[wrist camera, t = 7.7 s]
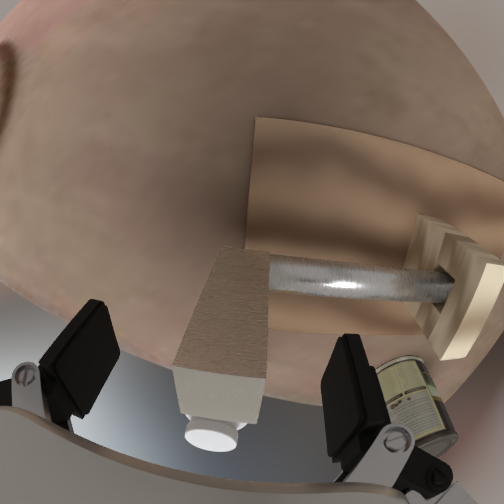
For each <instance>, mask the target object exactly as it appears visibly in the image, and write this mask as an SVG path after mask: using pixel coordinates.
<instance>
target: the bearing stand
mask: <svg viewBox="0 0 504 504" xmlns="http://www.w3.org/2000/svg"><path fill="white" fill-rule="evenodd" d="M460 231H461V232H460ZM463 233H464V234H463ZM466 235H467V236H466ZM469 237H470V238H469ZM472 239H473V240H472ZM482 246H483V247H482ZM244 248H245V249H254V250H264V251H270V254H275V255H284V256H294V257H303V258H313V259H322V260H331V261H341V262H350V263H360V264H369V265H379V266H388V267H398V268H407V269H416V270H426V271H435V272H445V273H449V274H450V275H451V276H452V277H453V278H454V279H455V282H454V284H453V287H452V289H451V292H450V294H449V296H448V299H447V301H446V303H423V302H400V301H381V300H365V299H350V298H336V297H323V296H311V295H300V294H289V293H279V292H269V309H268V329H272V330H283V331H295V332H310V333H328V334H344V333H350V334H359V335H425V336H426V338H427V339H428V341H429V343H430V344H431V346H432V348H433V349H434V351H435V353H436V354H437V356H438V358H439V360H440V361H441V360H449V359H457V358H464V357H466V355H467V353H468V352H469V350H470V349H471V347H472V345H473V343H474V342H475V340H476V338H477V337H478V335H479V333H480V331H481V329H482V327H483V326H484V324H485V322H486V320H487V318H488V316H489V314H490V312H491V310H492V308H493V305H494V303H495V301H496V299H497V297H498V294H499V292H500V290H501V287H502V285H503V283H504V262H503V261H502V260H500V259H501V256H502V253H503V250H504V181H501V180H499V179H497V178H495V177H493V176H491V175H489V174H487V173H484V172H482V171H480V170H477V169H475V168H473V167H470V166H468V165H465V164H463V163H460V162H458V161H455V160H452V159H450V158H447V157H444V156H442V155H439V154H436V153H433V152H430V151H427V150H424V149H421V148H418V147H414V146H411V145H408V144H404V143H401V142H397V141H394V140H390V139H386V138H382V137H378V136H374V135H370V134H366V133H361V132H357V131H352V130H347V129H342V128H337V127H331V126H326V125H320V124H314V123H307V122H300V121H293V120H285V119H276V118H266V117H256V120H255V131H254V142H253V153H252V164H251V176H250V187H249V199H248V211H247V223H246V235H245V247H244ZM489 251H490V252H489Z"/></svg>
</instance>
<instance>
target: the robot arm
mask: <svg viewBox="0 0 504 504" xmlns="http://www.w3.org/2000/svg"><path fill="white" fill-rule="evenodd" d="M119 356H120V349H119V346H118V343H117V340H116V336H115V333H114V329H113V326H112V322H111V319H110V315H109V311H108V308H107V306H105V304H104V302H103V301H99V300H95V299H90V300H89V301H88V302H87V303H86V304H85V305H84V306H83V308H82V309H81V310H80V311H79V312H78V313H77V315H76V316H75V317H74V318H73V319H72V320H71V322H70V323H69V324H68V325H67V326H66V328H65V329H64V330H63V331H62V332H61V334H60V335H59V336H58V337H57V339H56V340H55V341H54V342H53V344H52V345H51V347H49V349H48V350H47V351H46V353H45V354H44V355H43V357H42V358H41V359H40V361H39V364H40V365H39V366H38V367H37V366H36V365H35V364H34V363H32V362H24V363H21V364H20V365H18V366H17V367H16V368H15V369H14V371H13V373H12V378H11V379H8V380H4V381H1V382H0V504H477V502H476V501H475V500H474V499H473V498H472V497H471V496H470V495H469V494H468V493H467V492H466V490H465V489H464V488H463V487H462V486H461V485H460V484H459V483H458V482H455V483H454V482H453V481H452V480H453V473H452V469H451V468H450V466H449V465H447V464H446V463H445V462H443V461H441V460H440V459H438V458H436V457H434V456H432V455H431V454H429V453H427V452H426V451H424V450H422V449H420V448H419V447H417V446H415V445H414V444H415V437H414V434H413V432H412V431H411V430H410V428H408V427H407V426H406V425H403V424H400V423H392V424H391V420H390V417H389V413H388V409H387V406H386V402H385V399H384V396H383V392H382V389H381V386H380V382H379V379H378V376H377V373H376V370H375V368H374V367H373V366H369V363H368V359H367V356H366V353H365V350H364V347H363V344H362V341H361V338H360V335H359V334H350V333H344V334H343V336H342V337H339V338H338V339H337V342H336V345H335V347H334V350H333V353H332V355H331V358H330V360H329V363H328V365H327V368H326V370H325V372H324V375H323V377H322V380H321V394H322V402H323V410H324V420H325V430H326V441H327V452H328V456H329V457H332V461H333V463H337V462H341V468H342V469H343V471H342V472H341V473H340V474H339V475H338V477H337V478H336V479H335V480H334V481H333V482H332V483H331V482H330V483H269V482H252V481H242V480H233V479H225V478H218V477H211V476H206V475H200V474H195V473H190V472H185V471H181V470H176V469H172V468H168V467H164V466H160V465H157V464H153V463H150V462H146V461H143V460H140V459H137V458H134V457H131V456H128V455H125V454H122V453H119V452H117V451H114V450H111V449H109V448H106V447H103V446H101V445H99V444H96V443H94V442H92V441H89V440H87V439H85V438H83V437H81V436H78V435H76V434H74V431H73V427H72V424H71V419H70V417H71V415H72V414H73V415H75V416H77V417H79V418H81V419H83V418H84V416H85V414H88V413H89V412H90V410H91V408H92V406H93V404H94V402H95V401H96V399H97V397H98V395H99V393H100V391H101V389H102V387H103V386H104V384H105V382H106V380H107V378H108V376H109V375H110V373H111V371H112V369H113V367H114V366H115V364H116V362H117V360H118V359H119Z"/></svg>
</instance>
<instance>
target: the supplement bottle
mask: <svg viewBox="0 0 504 504" xmlns="http://www.w3.org/2000/svg"><path fill="white" fill-rule="evenodd" d="M186 416H187V417H188V419H189V420H190V422H189V423H188V424H187V427H186V431H185V438H186V440H187V441H188V442H189V443H191V444H192V445H194V446H196V447H199V448H201V449H204V450H209V451H216V452H225V451H230V450H232V449H234V448H235V447H236V445H237V440H238V433H237V430H239V429H241V428H243V427H244V426H245V425H246V424H247V423H240V422H232V421H224V420H217V419H211V418H204V417H199V416H193V415H188V414H186Z"/></svg>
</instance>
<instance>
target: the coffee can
mask: <svg viewBox="0 0 504 504" xmlns="http://www.w3.org/2000/svg"><path fill="white" fill-rule="evenodd" d="M376 373H377V376H378V379H379V382H380V386H381V389H382V392H383V396H384V399H385V402H386V406H387V409H388V413H389V417H390V420H391V424H392V423H400V424H403V425H406V426H407V427H408V428H410V430H411V431H412V432H413V434H414V437H415V444H414V445H415V446H417V447H419V448H420V449H422V450H424V451H426V452H427V453H429V454H431V455H432V456H434V457H436V458H438V457H440V456H441V455H443V454H444V453H446V452H447V451H448V450H449V449H450V448H451V447H452V446H453V445H454V444H455V443H456V442H457V440H458V435H457V432H456V431H455V429H454V427H453V424H452V422H451V420H450V418H449V415H448V413H447V411H446V409H445V406H444V404H443V402H442V400H441V397H440V395H439V393H438V391H437V389H436V387H435V385H434V383H433V381H432V379H431V377H430V375H429V372H428V371H427V369H426V367H425V364H424V362H423V360H422V359H420V358H419V357H416V356H404V357H399V358H396V359H394V360H391V361H389V362H387V363H385V364H384V365H382V366H380V367H379V368H377V369H376Z"/></svg>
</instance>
